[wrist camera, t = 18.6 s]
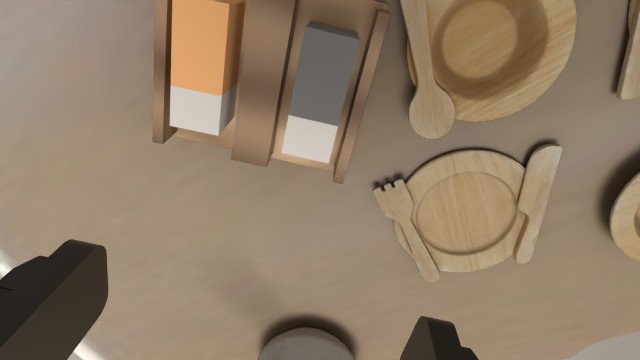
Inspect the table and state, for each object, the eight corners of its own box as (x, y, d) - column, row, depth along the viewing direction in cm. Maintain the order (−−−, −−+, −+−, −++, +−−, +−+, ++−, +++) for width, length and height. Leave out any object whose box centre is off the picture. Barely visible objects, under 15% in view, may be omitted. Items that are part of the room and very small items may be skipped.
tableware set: (904, -164, 23) (1006, -191, 20) (762, 232, 36) (809, 259, 32) (336, -30, 28) (335, -32, 25) (387, 277, 41) (391, 305, 37)
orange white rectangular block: (197, -10, 28) (172, -9, 24) (245, 1, 28) (229, 4, 24) (191, 108, 32) (169, 125, 28) (234, 117, 32) (218, 135, 28)
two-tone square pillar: (310, 20, 29) (305, 26, 25) (357, 32, 29) (359, 39, 25) (289, 132, 33) (281, 152, 29) (330, 141, 33) (328, 163, 29)
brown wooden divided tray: (180, -48, 28) (156, -53, 24) (386, 3, 29) (392, 6, 25) (172, 130, 34) (152, 147, 31) (341, 168, 35) (341, 189, 31)
